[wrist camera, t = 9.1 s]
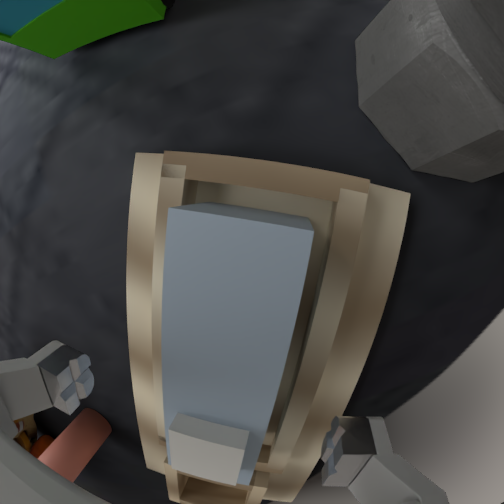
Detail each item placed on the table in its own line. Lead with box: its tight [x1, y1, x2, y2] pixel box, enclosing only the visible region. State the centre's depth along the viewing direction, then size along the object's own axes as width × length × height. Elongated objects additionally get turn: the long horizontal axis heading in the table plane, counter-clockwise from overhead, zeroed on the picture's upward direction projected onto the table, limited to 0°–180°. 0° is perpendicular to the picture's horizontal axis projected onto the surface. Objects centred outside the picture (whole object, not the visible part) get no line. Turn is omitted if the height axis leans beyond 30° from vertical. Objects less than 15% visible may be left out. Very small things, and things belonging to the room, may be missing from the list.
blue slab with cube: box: [161, 202, 314, 486], centre depth 10 cm, size 12×4×5 cm, turn 172°
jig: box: [126, 151, 411, 504], centre depth 13 cm, size 23×12×4 cm, turn 172°
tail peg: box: [38, 408, 112, 483], centre depth 14 cm, size 3×3×8 cm
